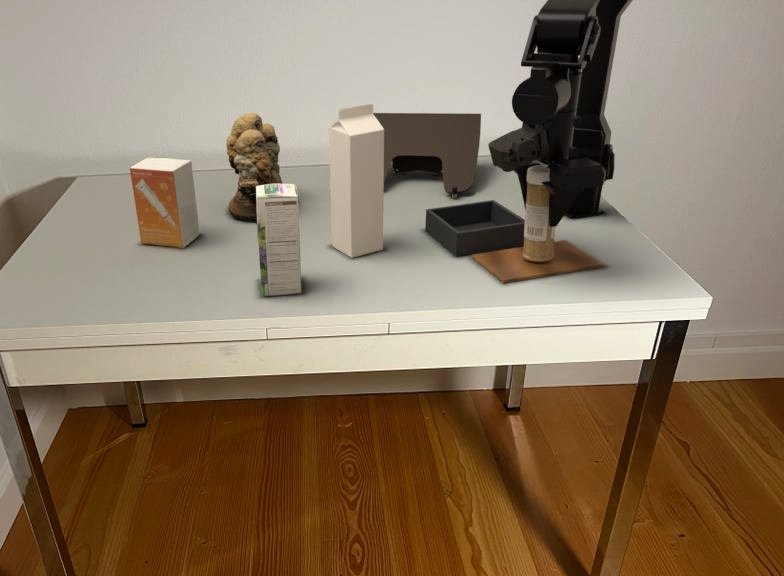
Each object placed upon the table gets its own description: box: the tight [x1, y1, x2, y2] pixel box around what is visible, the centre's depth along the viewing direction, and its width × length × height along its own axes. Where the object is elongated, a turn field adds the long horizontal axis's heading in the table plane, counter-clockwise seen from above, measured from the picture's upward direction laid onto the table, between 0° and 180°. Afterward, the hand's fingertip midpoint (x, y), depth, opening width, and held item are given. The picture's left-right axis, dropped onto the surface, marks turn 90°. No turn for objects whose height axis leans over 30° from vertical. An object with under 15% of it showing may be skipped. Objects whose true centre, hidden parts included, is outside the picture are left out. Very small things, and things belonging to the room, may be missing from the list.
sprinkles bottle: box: [522, 165, 557, 262], centre depth 110 cm, size 5×5×13 cm
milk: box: [328, 103, 385, 259], centre depth 115 cm, size 6×6×22 cm
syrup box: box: [255, 183, 302, 297], centre depth 105 cm, size 6×6×14 cm
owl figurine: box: [225, 112, 284, 221], centre depth 135 cm, size 18×12×17 cm, turn 174°
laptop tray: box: [373, 112, 482, 199], centre depth 148 cm, size 23×23×9 cm
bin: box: [424, 199, 525, 257], centre depth 121 cm, size 12×12×4 cm
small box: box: [129, 157, 201, 249], centre depth 124 cm, size 8×6×13 cm
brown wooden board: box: [471, 239, 604, 284], centre depth 113 cm, size 16×10×1 cm, turn 106°
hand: (540, 219), depth 109 cm, fingers open, 6 cm apart
